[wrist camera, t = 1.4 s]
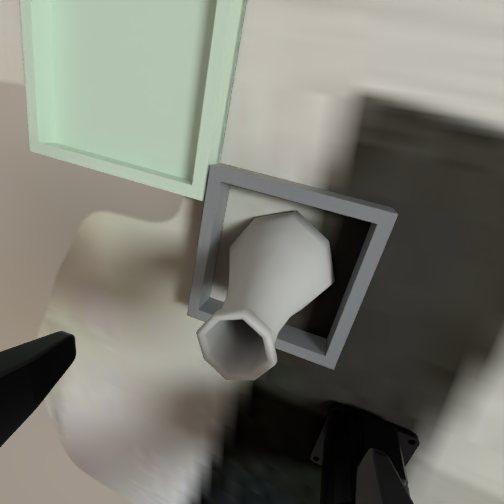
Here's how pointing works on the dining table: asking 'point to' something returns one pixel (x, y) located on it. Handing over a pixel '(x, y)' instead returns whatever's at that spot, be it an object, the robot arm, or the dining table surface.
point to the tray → (132, 85)
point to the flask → (265, 292)
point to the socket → (378, 214)
